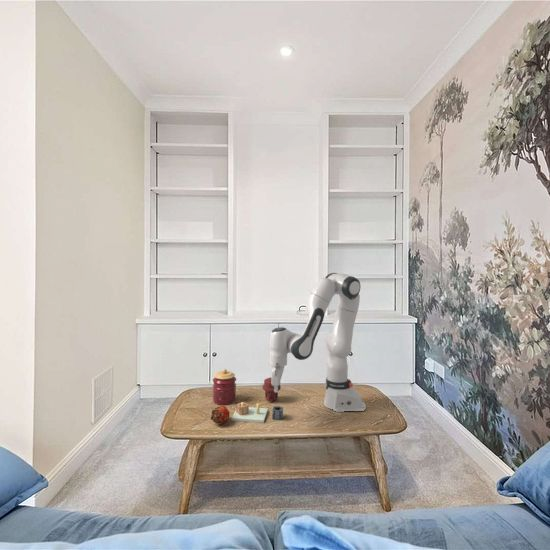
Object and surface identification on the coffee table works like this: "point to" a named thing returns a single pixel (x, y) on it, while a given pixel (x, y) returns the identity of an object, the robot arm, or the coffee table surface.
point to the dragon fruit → (220, 414)
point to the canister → (224, 387)
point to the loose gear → (277, 413)
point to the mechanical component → (270, 390)
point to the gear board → (249, 413)
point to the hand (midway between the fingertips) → (277, 388)
